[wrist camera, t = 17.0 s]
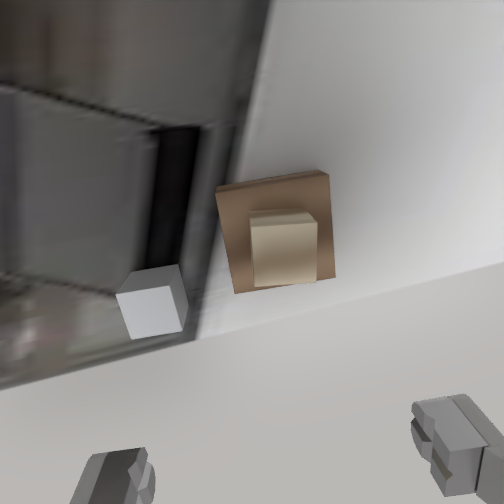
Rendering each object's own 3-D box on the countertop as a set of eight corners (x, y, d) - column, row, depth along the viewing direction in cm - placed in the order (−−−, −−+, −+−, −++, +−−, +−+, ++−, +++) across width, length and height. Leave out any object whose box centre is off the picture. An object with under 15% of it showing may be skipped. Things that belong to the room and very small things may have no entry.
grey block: (131, 271, 34) (115, 294, 30) (178, 263, 34) (169, 285, 30) (144, 312, 36) (131, 339, 31) (188, 304, 36) (182, 330, 31)
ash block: (248, 211, 29) (251, 227, 24) (304, 207, 29) (317, 222, 24) (251, 262, 31) (254, 287, 26) (303, 259, 31) (316, 282, 26)
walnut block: (217, 185, 32) (215, 193, 28) (317, 169, 32) (328, 174, 28) (234, 276, 35) (234, 293, 32) (324, 261, 35) (335, 277, 32)
